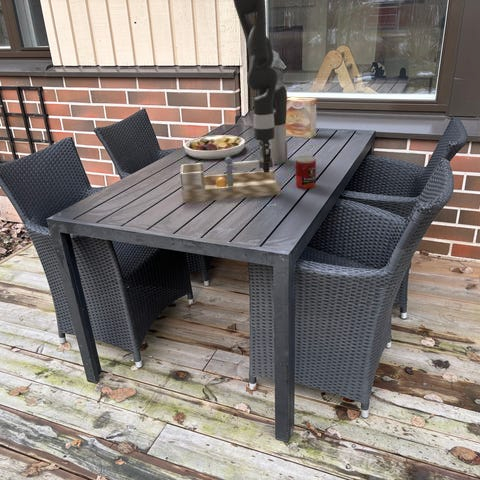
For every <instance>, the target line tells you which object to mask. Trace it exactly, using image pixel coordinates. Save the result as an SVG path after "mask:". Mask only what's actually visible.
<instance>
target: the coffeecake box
mask: <svg viewBox="0 0 480 480" xmlns="http://www.w3.org/2000/svg"><path fill="white" fill-rule="evenodd" d="M286 137H293V138H304V139H312V138H314V137H317V98H316V97H315V98H314V97H312V98H309V97H295V96H291V97H287V114H286Z"/></svg>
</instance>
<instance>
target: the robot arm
mask: <svg viewBox="0 0 480 480" xmlns="http://www.w3.org/2000/svg"><path fill="white" fill-rule="evenodd" d="M233 4H234V8H235V11H236V13H237V17H238V19H239V23H240V26H241V29H242V31H243V34H244V38H245V43H246V46H247V51H248V59H249V67H248V72H247V77H246V78H247V86H248V87H249V89H250V90H253V91H258V96H256V97H254V99H253V133H254V134H253V135H254V136H253V137H254V140H257V141H258V142H259V143H258V146H259V154H260V159H263V168H261V169H262V171H264V173H268V172H269V170H270V168H269V163H270V161H271V160H270V158H272V159H273V160H274V165H280V164H284V163H288V158H289V156H288V140H287V136H286V114H287V98H288V93H287V89H286V87H285V86H284V85H281V84H280V85H278V84H277V83H278V73H277V71H276V70H275V68H274V67H272V65H273V62H274V52H273V51H274V50H273V48H272V43H271V40H270V39H269V38H268V36H267V10H266V0H233ZM254 13H256V17H255V21H254V23H253V22H252V20H251V18H250V17H249V16H248V15H250V14H254ZM274 109H275V112H274ZM265 159H266V160H265Z"/></svg>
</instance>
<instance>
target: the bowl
mask: <svg viewBox="0 0 480 480" xmlns="http://www.w3.org/2000/svg"><path fill="white" fill-rule="evenodd" d="M245 142H246V140H245V139H244V138H242V137H239V136H235V135H229V134H228V135H227V134H224V135H223V134H221V135H220V134H218V135H206V136H202V137H197V138H193V139H190V140H188V141H186V142H185V143H184V144H183V147H184V151H185V153H186V154H187V155H189V156H190V157H192V158H195V159H200V160H217V159H226V158H227V157H230V158H231V157H232V156H233V157H234V156H236V155H239V154H240V153H241V152H242V151H243V150H244V148H245V144H246V143H245Z"/></svg>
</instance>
